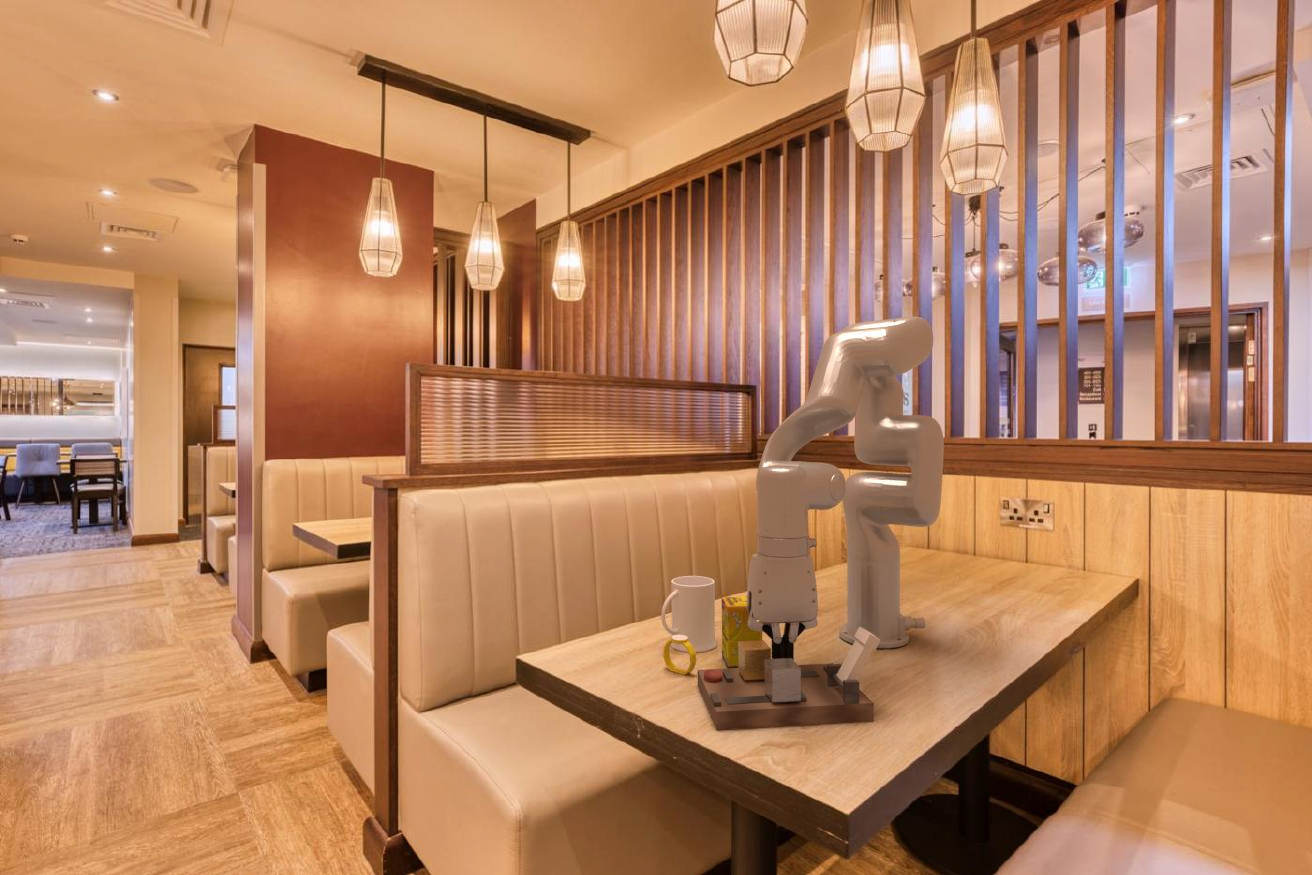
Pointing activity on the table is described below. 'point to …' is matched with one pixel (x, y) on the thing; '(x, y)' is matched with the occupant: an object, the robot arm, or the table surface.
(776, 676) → the grey knob
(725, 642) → the supplement box
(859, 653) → the pale pink t-block
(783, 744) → the table surface
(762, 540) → the robot arm
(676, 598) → the mug
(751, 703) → the console
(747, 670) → the brass knob
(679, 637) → the watch
